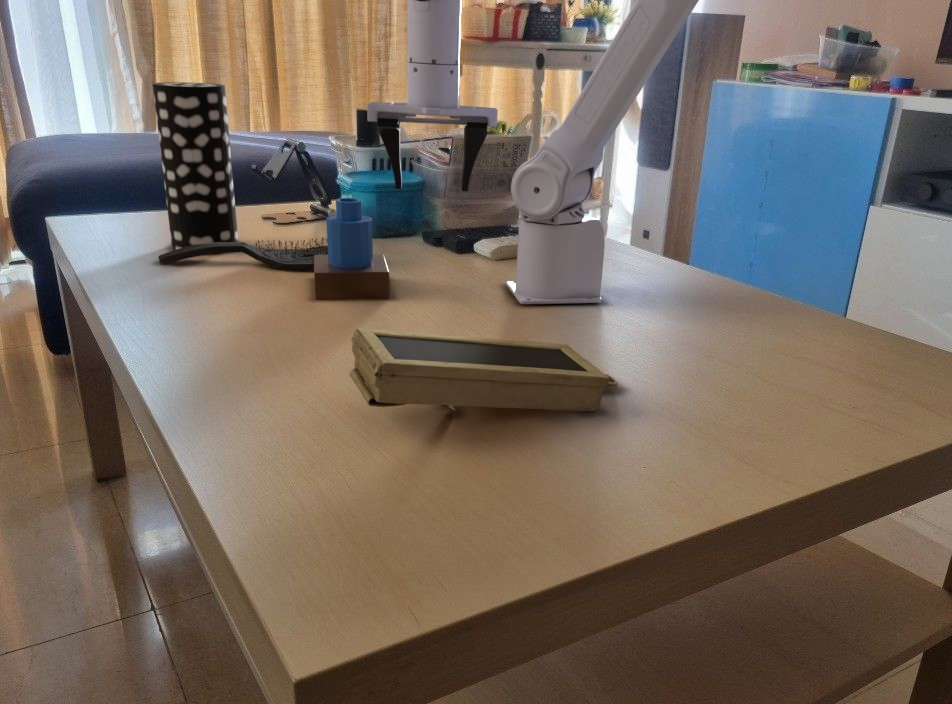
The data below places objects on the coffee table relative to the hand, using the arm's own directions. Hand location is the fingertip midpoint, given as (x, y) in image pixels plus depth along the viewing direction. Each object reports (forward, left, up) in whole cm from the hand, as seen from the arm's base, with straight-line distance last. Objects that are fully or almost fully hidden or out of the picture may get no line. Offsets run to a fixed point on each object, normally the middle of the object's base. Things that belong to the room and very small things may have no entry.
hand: (431, 188), depth 98 cm
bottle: (+10, +5, -7) cm, 13 cm away
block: (+10, +5, -10) cm, 15 cm away
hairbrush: (+20, -7, -11) cm, 23 cm away
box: (0, +39, -11) cm, 41 cm away
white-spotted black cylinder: (+28, -16, -11) cm, 34 cm away
